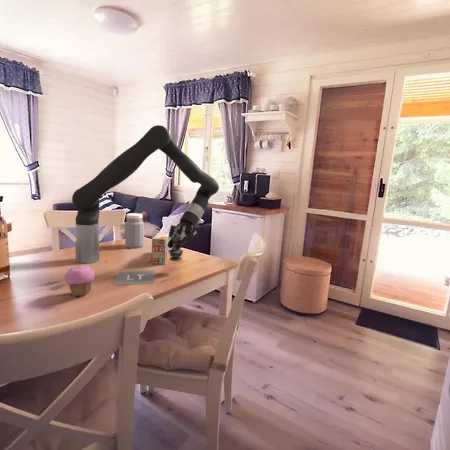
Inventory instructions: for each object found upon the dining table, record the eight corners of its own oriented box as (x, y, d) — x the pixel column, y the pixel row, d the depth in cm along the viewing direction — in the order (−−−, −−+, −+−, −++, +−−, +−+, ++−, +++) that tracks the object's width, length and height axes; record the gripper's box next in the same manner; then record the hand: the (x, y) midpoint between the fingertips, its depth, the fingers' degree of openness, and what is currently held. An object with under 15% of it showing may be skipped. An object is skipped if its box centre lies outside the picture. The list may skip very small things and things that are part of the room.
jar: (122, 247, 156) (121, 214, 153) (130, 243, 166) (130, 212, 163) (138, 249, 155) (138, 216, 152) (146, 245, 164) (146, 213, 161)
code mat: (114, 285, 107) (114, 284, 107) (118, 272, 120) (118, 271, 120) (153, 283, 111) (153, 283, 110) (153, 271, 124) (153, 270, 124)
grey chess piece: (185, 258, 124) (185, 230, 122) (178, 262, 119) (179, 233, 116) (173, 256, 126) (173, 229, 124) (166, 260, 120) (166, 231, 118)
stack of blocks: (162, 251, 154) (162, 228, 152) (174, 252, 154) (174, 229, 152) (151, 264, 133) (151, 238, 131) (165, 264, 133) (165, 238, 130)
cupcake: (98, 288, 103) (97, 262, 101) (91, 299, 95) (90, 270, 93) (71, 289, 101) (69, 262, 100) (61, 300, 93) (60, 270, 91)
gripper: (176, 208, 128) (155, 240, 121) (201, 212, 121) (181, 246, 113) (183, 219, 134) (164, 249, 126) (208, 223, 126) (189, 256, 119)
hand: (172, 247), depth 120 cm, fingers closed on grey chess piece, 3 cm apart
